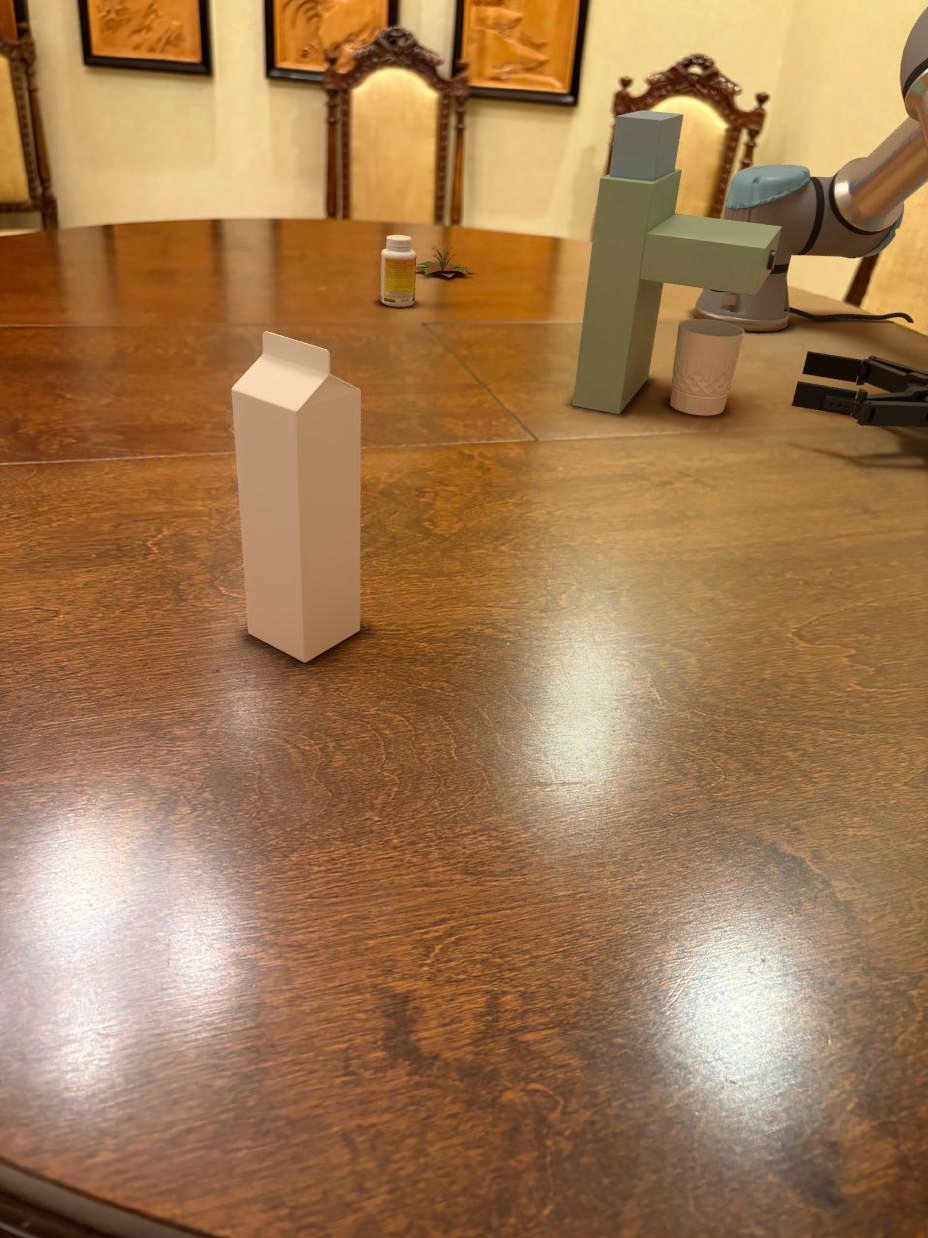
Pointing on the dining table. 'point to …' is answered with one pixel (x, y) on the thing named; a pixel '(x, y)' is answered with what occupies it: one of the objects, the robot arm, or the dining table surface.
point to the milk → (299, 497)
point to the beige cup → (704, 365)
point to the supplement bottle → (398, 272)
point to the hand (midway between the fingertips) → (799, 377)
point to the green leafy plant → (442, 265)
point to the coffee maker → (652, 258)
